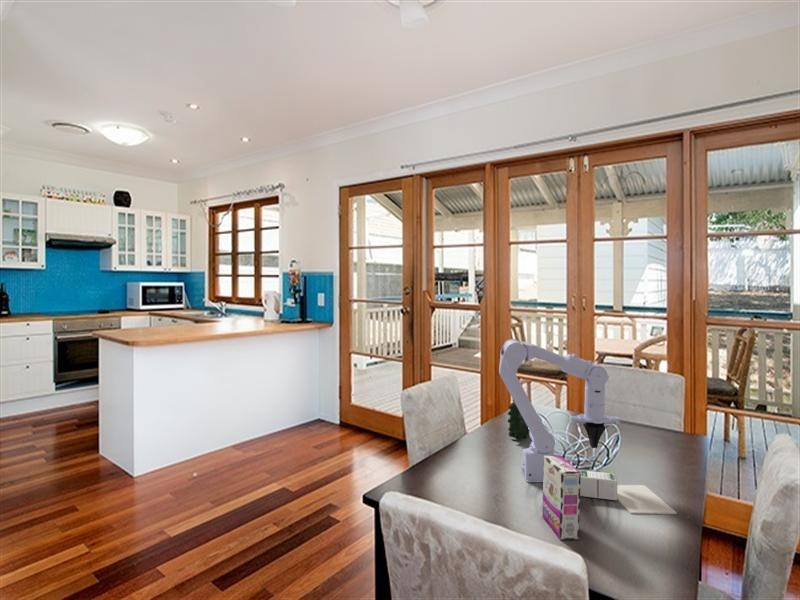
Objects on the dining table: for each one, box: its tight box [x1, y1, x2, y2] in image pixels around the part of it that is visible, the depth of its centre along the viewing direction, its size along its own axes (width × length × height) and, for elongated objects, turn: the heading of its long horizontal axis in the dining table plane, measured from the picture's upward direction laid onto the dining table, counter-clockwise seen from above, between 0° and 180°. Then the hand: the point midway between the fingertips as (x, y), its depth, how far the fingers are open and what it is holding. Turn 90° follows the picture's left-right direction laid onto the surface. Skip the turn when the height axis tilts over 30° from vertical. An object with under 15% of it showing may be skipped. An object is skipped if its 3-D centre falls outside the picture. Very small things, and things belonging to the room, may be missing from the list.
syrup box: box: [576, 468, 618, 501], centre depth 130 cm, size 6×6×14 cm
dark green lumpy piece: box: [507, 399, 529, 439], centre depth 181 cm, size 9×19×25 cm
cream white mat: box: [616, 484, 678, 515], centre depth 127 cm, size 12×16×1 cm
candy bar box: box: [542, 454, 581, 541], centre depth 112 cm, size 11×5×16 cm, turn 5°
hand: (593, 446), depth 139 cm, fingers closed
